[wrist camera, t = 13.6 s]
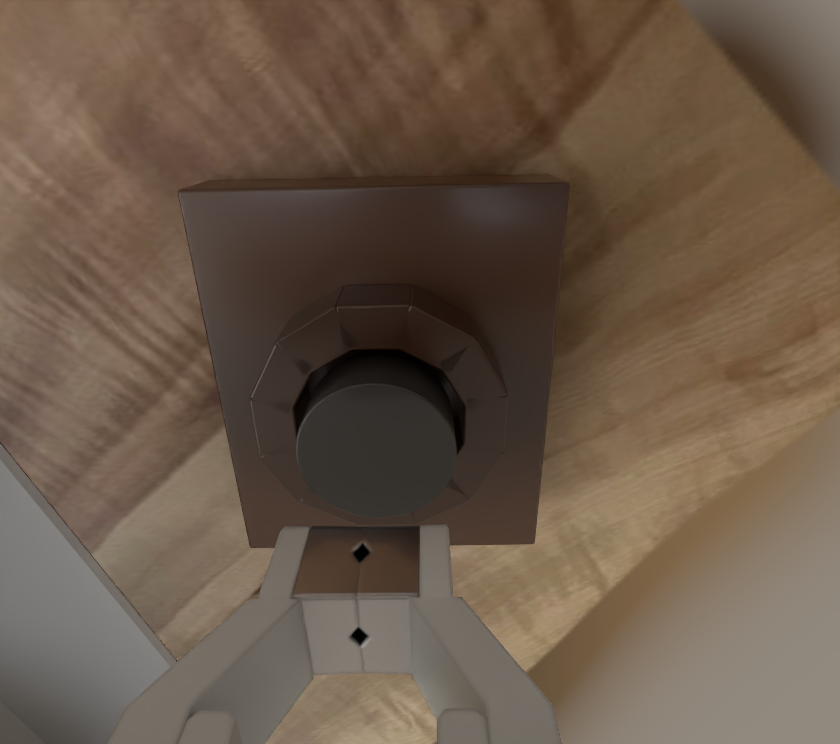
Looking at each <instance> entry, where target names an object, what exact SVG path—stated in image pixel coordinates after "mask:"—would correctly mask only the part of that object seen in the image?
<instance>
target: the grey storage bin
mask: <svg viewBox="0 0 840 744" xmlns="http://www.w3.org/2000/svg"><path fill="white" fill-rule="evenodd" d="M176 662H177V661H176V660H175V659H174V658H173V656H172V655H171V654H170V653H169V651H168V650H167V649H166V648H165V646H164V645H163V644H162V643H161V641H160V640H159V639H158V638H157V636H156V635H155V634H154V633H153V632H152V630H151V629H150V628H149V627H148V625H147V624H146V623H145V622H144V620H143V619H142V618H141V617H140V615H139V614H138V613H137V612H136V610H135V609H134V608H133V607H132V606H131V604H130V603H129V602H128V601H127V599H126V598H125V597H124V596H123V594H122V593H121V592H120V591H119V589H118V588H117V587H116V586H115V584H114V583H113V582H112V581H111V580H110V578H109V577H108V576H107V575H106V573H105V572H104V571H103V570H102V568H101V567H100V566H99V565H98V563H97V562H96V561H95V560H94V559H93V557H92V556H91V555H90V554H89V552H88V551H87V550H86V549H85V547H84V546H83V545H82V544H81V542H80V541H79V540H78V539H77V537H76V536H75V535H74V534H73V533H72V531H71V530H70V529H69V528H68V526H67V525H66V524H65V523H64V521H63V520H62V519H61V518H60V516H59V515H58V514H57V513H56V511H55V510H54V509H53V508H52V507H51V505H50V504H49V503H48V502H47V500H46V499H45V498H44V497H43V495H42V494H41V493H40V492H39V490H38V489H37V488H36V487H35V485H34V484H33V483H32V482H31V481H30V479H29V478H28V477H27V476H26V474H25V473H24V472H23V471H22V469H21V468H20V467H19V466H18V464H17V463H16V462H15V461H14V459H13V458H12V457H11V456H10V455H9V453H8V452H7V451H6V450H5V448H4V447H3V446H2V445H1V443H0V744H107V742H108V740H109V738H110V736H111V734H112V732H113V730H114V728H115V726H116V724H117V722H118V720H119V718H120V716H121V714H122V712H123V710H124V708H125V707H126V706H127V705H128V704H129V703H130V702H132V701H133V700H134V699H135V698H136V697H137V696H138V695H140V694H141V693H142V692H143V691H144V690H145V689H146V688H148V687H149V686H150V685H151V684H152V683H153V682H154V681H156V680H157V679H158V678H159V677H160V676H161V675H162V674H164V673H165V672H166V671H167V670H168V669H169V668H171V667H172V666H173V665H174V664H175V663H176Z"/></svg>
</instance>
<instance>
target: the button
mask: <svg viewBox="0 0 840 744" xmlns="http://www.w3.org/2000/svg"><path fill="white" fill-rule="evenodd" d="M296 457H297V462H298V465H299V468H300V471H301V473H302V475H303V477H304V479H305V481H306V482H307V483H308V485H309V486H310V487H311V489H312V490H313V491H314V492H315V493H316V494H317V495H318V496H319V497H321V498H322V499H323V500H324V501H326V502H327V503H329V504H330V505H332V506H333V507H336V508H338V509H340V510H342V511H344V512H347V513H350V514H353V515H357V516H362V517H369V518H388V517H395V516H400V515H404V514H407V513H410V512H413V511H415V510H418V509H419V508H421V507H423V506H425V505H427V504H428V503H429V502H431V501H432V500H433V499H434V498H436V497H437V496H438V495H439V494H440V493H441V491H442V490H443V489H444V488H445V487H446V485H447V483H448V482H449V480H450V478H451V476H452V474H453V471H454V468H455V464H456V457H457V448H456V438H455V429H454V420H453V411H452V406H451V402H450V400H449V397H448V395H447V393H446V391H445V389H444V388H443V386H442V385H441V384H440V382H439V381H438V380H437V379H436V378H435V377H434V376H433V375H432V374H431V373H430V372H429V371H427V370H426V369H425V368H423V367H421V366H420V365H418V364H416V363H414V362H412V361H410V360H407V359H404V358H401V357H397V356H392V355H381V354H375V355H365V356H360V357H356V358H353V359H350V360H347V361H345V362H343V363H341V364H339V365H338V366H336V367H335V368H333V369H332V370H330V371H329V372H328V373H327V374H326V375H325V376H324V377H323V378H322V379H321V380H320V382H319V383H318V385H317V386H316V388H315V389H314V392H313V394H312V396H311V399H310V401H309V404H308V406H307V409H306V412H305V414H304V417H303V419H302V422H301V425H300V427H299V430H298V434H297V438H296Z"/></svg>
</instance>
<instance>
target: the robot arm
mask: <svg viewBox="0 0 840 744" xmlns="http://www.w3.org/2000/svg"><path fill="white" fill-rule="evenodd" d="M351 673H382V674H412V676H413V678H414V680H415V682H416V684H417V686H418V688H419V689H420V691H421V693H422V695H423V697H424V698H425V700H426V702H427V704H428V706H429V707H430V709H431V711H432V713H433V715H434V716H435V718H436V720H437V744H562V743H561V738H560V734H559V729H558V725H557V720H556V715H555V712H554V707H553V705H552V704H551V702H550V701H549V700H548V699H547V698H546V696H545V695H544V694H543V693H542V692H541V691H540V689H539V688H538V687H537V686H536V685H535V683H534V682H533V681H532V680H531V679H530V678H529V676H528V675H527V674H526V673H525V672H524V670H523V669H522V668H521V667H520V666H519V665H518V663H517V662H516V661H515V660H514V659H513V657H512V656H511V655H510V654H509V653H508V652H507V650H506V649H505V648H504V647H503V646H502V644H501V643H500V642H499V641H498V640H497V639H496V637H495V636H494V635H493V634H492V633H491V631H490V630H489V629H488V628H487V627H486V626H485V624H484V623H483V622H482V621H481V620H480V618H479V617H478V616H477V615H476V614H475V613H474V611H473V610H472V609H471V608H470V607H469V605H468V604H467V603H466V602H465V601H464V600H463V598H462V597H453V589H452V573H451V557H450V541H449V528H448V526H447V524H442V525H420V528H419V526H366V527H353V526H312V527H305V526H285V527H284V528H283V529H282V530H281V532H280V533H279V536H278V539H277V542H276V545H275V548H274V551H273V554H272V557H271V560H270V563H269V566H268V569H267V572H266V575H265V578H264V581H263V584H262V587H261V590H260V593H259V596H258V599H248V600H247V601H246V602H245V603H244V604H243V605H242V606H240V607H239V608H238V609H237V610H236V611H235V612H234V613H232V614H231V615H230V616H229V617H228V618H227V619H226V620H224V621H223V622H222V623H221V624H220V625H219V626H217V627H216V628H215V629H214V630H213V631H212V632H211V633H209V634H208V635H207V636H206V637H205V638H204V639H203V640H201V641H200V642H199V643H198V644H197V645H196V646H195V647H193V648H192V649H191V650H190V651H189V652H188V653H187V654H185V655H184V656H183V657H182V658H181V659H180V660H179V661H177V662H176V663H175V664H174V665H173V666H172V667H171V668H169V669H168V670H167V671H166V672H165V673H164V674H162V675H161V676H160V677H159V678H158V679H157V680H156V681H154V682H153V683H152V684H151V685H150V686H149V687H148V688H146V689H145V690H144V691H143V692H142V693H141V694H140V695H138V696H137V697H136V698H135V699H134V700H133V701H132V702H130V703H129V704H128V705H127V706H126V707H125V708H124V710H123V712H122V714H121V716H120V718H119V720H118V722H117V724H116V726H115V728H114V730H113V732H112V734H111V736H110V738H109V740H108V742H107V744H265V742H266V741H267V740H268V738H269V737H270V736H271V734H272V733H273V732H274V730H275V729H276V728H277V726H278V725H279V723H280V722H281V721H282V719H283V718H284V717H285V715H286V714H287V713H288V711H289V710H290V709H291V707H292V706H293V705H294V703H295V702H296V701H297V699H298V698H299V696H300V695H301V694H302V692H303V691H304V690H305V688H306V687H307V686H308V684H309V683H310V682H311V680H312V679H313V675H324V674H351Z"/></svg>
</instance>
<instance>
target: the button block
mask: <svg viewBox="0 0 840 744" xmlns="http://www.w3.org/2000/svg"><path fill="white" fill-rule="evenodd" d="M569 188H570V185H569V183H567V182H565V181H563V180H561V179H559V178H556V177H554V176H552V175H550V174H537V175H483V176H429V177H376V178H322V179H268V180H214V181H206V182H203V183H199V184H196V185H193V186H190V187H186V188H183V189H180V190H178V196H179V201H180V206H181V211H182V216H183V220H184V225H185V230H186V235H187V240H188V245H189V250H190V255H191V260H192V265H193V270H194V275H195V280H196V284H197V289H198V294H199V299H200V304H201V309H202V314H203V319H204V324H205V329H206V334H207V339H208V344H209V348H210V353H211V358H212V363H213V368H214V373H215V378H216V383H217V388H218V393H219V398H220V403H221V408H222V412H223V417H224V422H225V427H226V432H227V437H228V442H229V447H230V452H231V457H232V462H233V467H234V471H235V476H236V481H237V486H238V491H239V496H240V501H241V506H242V511H243V516H244V521H245V526H246V531H247V535H248V540H249V545H250V548H275V545H276V542H277V539H278V536H279V533H280V532H281V530H282V529H283V528H284V527H285V526H305V527H312V526H353V527H366V526H419V528H420V525H442V524H447V526H448V528H449V541H450V545H510V544H534V543H535V535H536V525H537V515H538V504H539V494H540V484H541V474H542V464H543V453H544V443H545V433H546V423H547V413H548V402H549V392H550V382H551V372H552V362H553V351H554V341H555V331H556V321H557V311H558V300H559V290H560V280H561V270H562V260H563V249H564V239H565V229H566V219H567V209H568V199H569ZM375 354H381V355H392V356H397V357H401V358H404V359H407V360H410V361H412V362H414V363H416V364H418V365H420V366H421V367H423V368H425V369H426V370H427V371H429V372H430V373H431V374H432V375H433V376H434V377H435V378H436V379H437V380H438V381H439V382H440V384H441V385H442V386H443V388H444V389H445V391H446V393H447V395H448V397H449V400H450V402H451V406H452V411H453V420H454V429H455V438H456V448H457V457H456V464H455V468H454V471H453V474H452V476H451V478H450V480H449V482H448V483H447V485H446V487H445V488H444V489H443V490H442V491H441V493H440V494H439V495H438V496H437V497H436V498H434V499H433V500H432V501H431V502H429V503H428V504H427V505H425V506H423V507H421V508H419V509H418V510H415V511H413V512H410V513H407V514H404V515H400V516H395V517H388V518H369V517H362V516H357V515H353V514H350V513H347V512H344V511H342V510H340V509H338V508H336V507H333V506H332V505H330V504H329V503H327V502H326V501H324V500H323V499H322V498H321V497H319V496H318V495H317V494H316V493H315V492H314V491H313V490H312V489H311V487H310V486H309V485H308V483H307V482H306V481H305V479H304V477H303V475H302V473H301V471H300V468H299V465H298V462H297V457H296V438H297V434H298V430H299V427H300V425H301V422H302V419H303V417H304V414H305V412H306V409H307V406H308V404H309V401H310V399H311V396H312V394H313V392H314V389H315V388H316V386H317V385H318V383H319V382H320V380H321V379H322V378H323V377H324V376H325V375H326V374H327V373H328V372H329V371H330V370H332V369H333V368H335V367H336V366H338V365H339V364H341V363H343V362H345V361H347V360H350V359H353V358H356V357H360V356H365V355H375Z"/></svg>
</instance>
